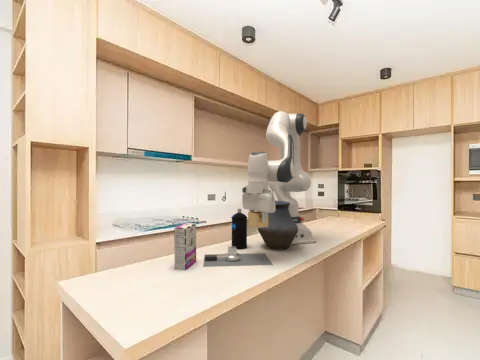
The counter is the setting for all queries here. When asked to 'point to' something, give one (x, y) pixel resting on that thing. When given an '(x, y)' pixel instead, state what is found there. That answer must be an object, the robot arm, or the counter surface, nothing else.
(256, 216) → the brass square frame
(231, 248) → the ratchet
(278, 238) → the pitcher
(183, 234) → the candy bar box
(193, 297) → the counter surface
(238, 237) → the aerosol can
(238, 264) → the mat
